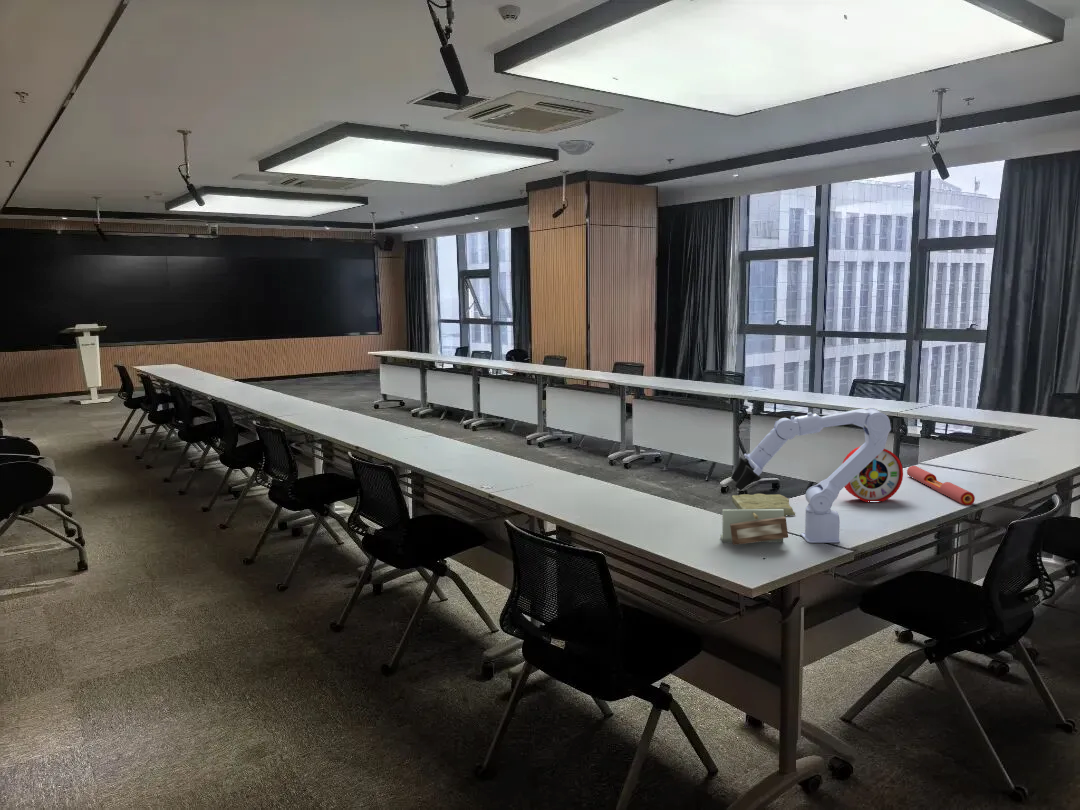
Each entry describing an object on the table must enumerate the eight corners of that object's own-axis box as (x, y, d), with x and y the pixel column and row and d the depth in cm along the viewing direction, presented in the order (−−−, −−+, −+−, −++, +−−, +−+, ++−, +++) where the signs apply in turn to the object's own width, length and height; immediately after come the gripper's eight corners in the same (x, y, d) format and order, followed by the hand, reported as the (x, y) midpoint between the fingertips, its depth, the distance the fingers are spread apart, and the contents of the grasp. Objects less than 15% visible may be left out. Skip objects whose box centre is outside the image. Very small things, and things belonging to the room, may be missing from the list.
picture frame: (786, 535, 218) (784, 516, 217) (788, 537, 216) (785, 518, 215) (732, 543, 219) (729, 524, 218) (733, 545, 217) (730, 525, 217)
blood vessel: (974, 505, 257) (975, 491, 256) (960, 506, 257) (960, 492, 256) (919, 477, 298) (919, 465, 297) (906, 477, 298) (907, 465, 298)
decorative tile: (743, 518, 249) (744, 508, 249) (731, 502, 269) (731, 493, 268) (799, 517, 248) (800, 507, 248) (782, 502, 268) (783, 492, 268)
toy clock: (846, 503, 262) (848, 448, 259) (839, 499, 268) (841, 445, 265) (901, 502, 262) (904, 447, 259) (893, 497, 268) (896, 443, 265)
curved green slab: (779, 538, 226) (780, 506, 225) (786, 546, 218) (787, 513, 217) (720, 538, 227) (720, 506, 226) (725, 546, 220) (725, 514, 218)
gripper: (750, 436, 231) (722, 469, 234) (759, 449, 216) (729, 483, 220) (767, 450, 231) (739, 482, 234) (778, 464, 217) (747, 498, 220)
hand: (735, 484), depth 227 cm, fingers open, 7 cm apart
